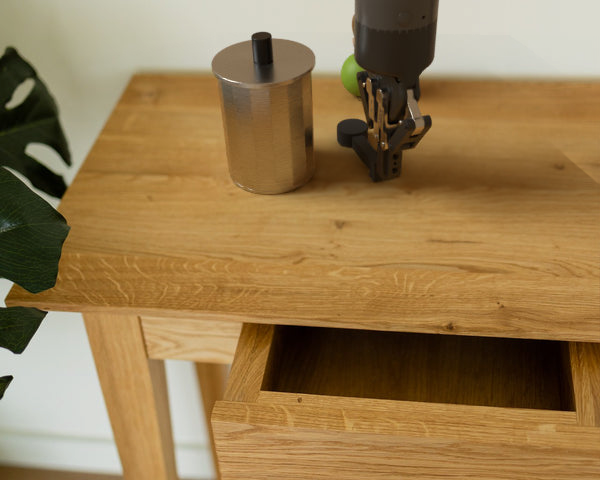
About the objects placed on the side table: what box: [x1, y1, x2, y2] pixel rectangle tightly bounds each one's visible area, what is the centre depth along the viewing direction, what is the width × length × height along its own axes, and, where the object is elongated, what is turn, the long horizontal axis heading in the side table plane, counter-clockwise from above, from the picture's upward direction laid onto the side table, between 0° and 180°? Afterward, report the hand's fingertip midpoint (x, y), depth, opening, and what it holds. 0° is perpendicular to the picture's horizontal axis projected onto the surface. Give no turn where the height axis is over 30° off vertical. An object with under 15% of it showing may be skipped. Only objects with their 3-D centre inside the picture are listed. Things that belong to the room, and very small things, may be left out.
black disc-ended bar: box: [336, 117, 384, 183], centre depth 85 cm, size 4×11×2 cm, turn 18°
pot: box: [216, 72, 316, 195], centre depth 80 cm, size 9×9×12 cm
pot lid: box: [210, 31, 316, 89], centre depth 75 cm, size 10×10×4 cm
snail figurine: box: [340, 13, 364, 98], centre depth 92 cm, size 5×6×12 cm
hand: (388, 175), depth 80 cm, fingers closed
